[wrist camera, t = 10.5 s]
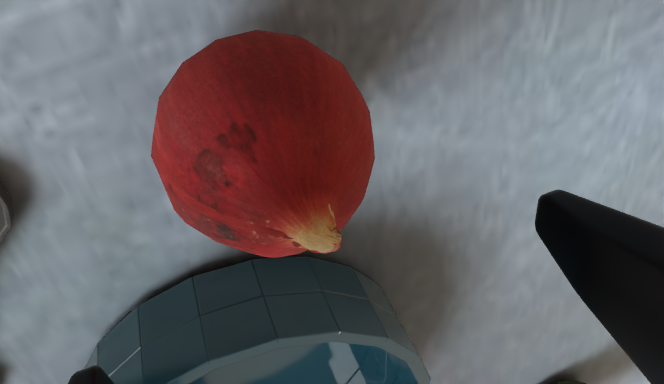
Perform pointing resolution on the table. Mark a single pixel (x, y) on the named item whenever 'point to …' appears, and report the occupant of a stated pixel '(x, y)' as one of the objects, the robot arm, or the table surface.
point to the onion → (264, 144)
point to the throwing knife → (5, 212)
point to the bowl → (264, 330)
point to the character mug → (570, 382)
